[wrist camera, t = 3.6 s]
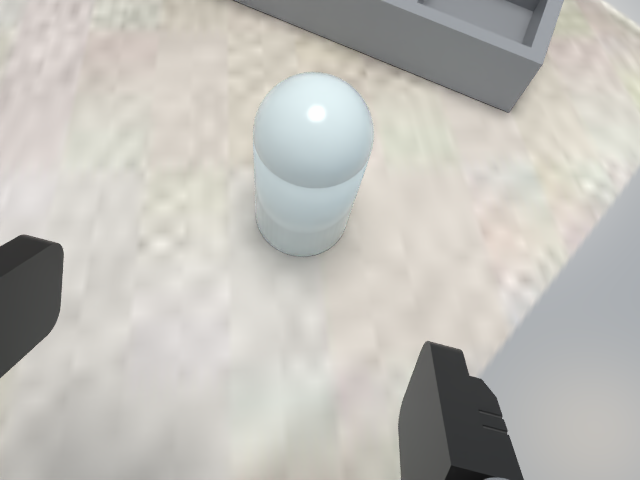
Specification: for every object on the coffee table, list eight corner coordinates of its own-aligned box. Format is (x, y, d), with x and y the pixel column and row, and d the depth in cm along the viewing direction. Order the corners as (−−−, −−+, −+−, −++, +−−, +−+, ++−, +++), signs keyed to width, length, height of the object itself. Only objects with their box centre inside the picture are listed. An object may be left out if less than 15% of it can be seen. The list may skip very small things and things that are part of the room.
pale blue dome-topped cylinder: (239, 233, 26) (227, 121, 18) (279, 160, 28) (286, 26, 19) (325, 271, 26) (355, 175, 17) (360, 195, 28) (403, 74, 19)
